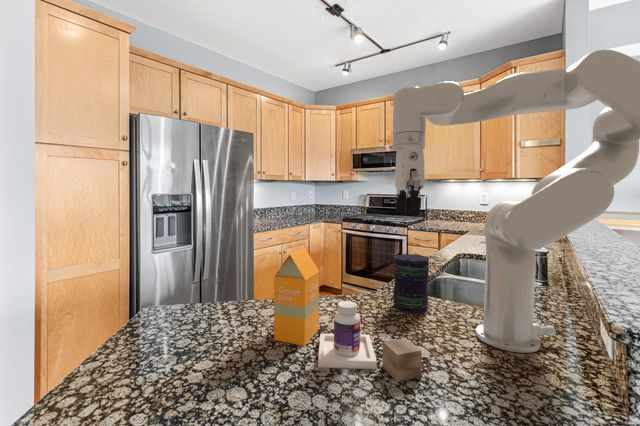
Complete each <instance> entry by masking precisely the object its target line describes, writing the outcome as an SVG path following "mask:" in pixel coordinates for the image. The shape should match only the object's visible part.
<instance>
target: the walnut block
mask: <svg viewBox="0 0 640 426" xmlns="http://www.w3.org/2000/svg"><path fill="white" fill-rule="evenodd" d="M422 351H423V350H422V349H421V348H419V347H418V346H416V345H415V344H414V343H413V342H412V341H410V340H409V339H408V338H406V337H405V338H399V339H397V338H396V339H392V340H384V341H382V368H383V369H384V370H385V371H386V372H387V374H389V375H390V376H391V377H392V379H393V380H395V382H397V383H399V382H403V381H408V380H413V379H417V378H421V377H422V354H423V353H422Z"/></svg>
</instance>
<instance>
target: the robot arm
mask: <svg viewBox="0 0 640 426" xmlns="http://www.w3.org/2000/svg"><path fill="white" fill-rule="evenodd" d="M596 101H599V102H600V103H602V104H603V105H605V106H606V107H605V108H603V110H601V112H600V113H599V114H598V115H597V116H596V118H595V120H594V122H593V126H592V140H591V144H590V146H589V147H588V148H587V149H586V151H584V152H583V153H582V154H580V155H578V156H577V157H576V158H574V159H573V160H571V161H570V162H568V163H567V164H565V165H563V166H561V167H560V168H558V169H557V170H555V171H553V172H552V173H550V174H548V175H546V176H544V177H543V178H541V179H540V180H539V181H538V182H537V183H536V184H535V185H534V187H533V188H532V192H531V195H529V197H527V198H525V199H524V200H522V201H519V200H517V201H516V200H507V201H502V202H500V203H497V204H496V205H494V206H492V207H491V209H490V210H488V212H487V215H486V216H485V221H484V239H485V272H484V295H483V296H484V299H483V301H484V303H483V323H482V324H479V325H477V326H476V328H475V335H476V337H477V338H478V339H479V340H481V341H482V342H484V343H485V344H486V345H489V346H492V347H494V348H497V349H499V350H503V351H508V352H512V353H521V354H531V353H534V352H538V351H539V350H540V349H541V345H542V344H541V343H542V342H541V340H540V339H539V338H538V337H541V336H542V335H543V336H556V334H557V333H556V328H555V327H554V326H551V325H544V326H543V325H542V324H541V323H540V322H534V307H535V306H534V305H535V304H534V303H535V288H536V287H535V285H536V282H535V281H536V274H537V273H536V270H537V263H536V261H537V260H536V251H535V250H539V249H542V248H545V247H547V246H549V245H551V244H553V243H555V242H557V241H558V240H561V239H562V238H564V237H566V236H568V235H569V234H571V233H573V232H575V231H576V230H578V229H581V228H582V227H583V226H585V225H587V224H589V223H591V222H593V220H595V219H597V218H598V217H600V216H601V215H603V214H604V213H605V212H606V211H607V210H608V208H609V207H610V206H611V204H612V203H613V200H614V199H615V198H614V197H615V185H617V184H618V183H619V182H622V180H624V179H625V178H627V177H628V176H629V175H630V174H631V173H632V172H633V171H634V169H635V167H636V165H637V163H638V162H637V161H638V158H639V153H640V61H639V60H637V59H635V58H634V57H632V56H630V55H628V54H625V53H624V52H623V53H622V52H621V51H616V50H612V49H597V50H594V51H592V52H590V53H588V54H586V55H585V56H583V57H582V58H581V59H579V60H578V61H577V62H575V63H574V64H572V65H570V66H567V67H566V66H565V67H559V68H551V69H545V70H537V71H536V70H535V71H527V72H520V73H519V72H518V73H514V74H511V75H509V76H506V77H504V78H502V79H500V80H497V82H494V83H492V84H491V85H489V86H486V87H484V88H481V89H479V90H478V89H477V90H475V91H473V92H468V93H465V91H464V89H463V87H462V85H460V84H459V83H458V82H454V81H450V80H449V81H441V82H437V83H433V84H429V85H424V86H420V87H418V86H407V87H404V88H403V87H402V88H401V89H398V90H397V91H396V92H394V95H393V101H392V102H393V104H392V106H393V107H392V109H393V111H392V146H391V147H392V150H393V151H396V154H395V170H394V171H395V174H394V175H395V176H394V180H395V181H394V182H395V183H394V184H395V185H394V186H395V189H396V195H395V196H396V197H395V213H396V214H405V216H420V213H421V190H423V189H424V187H425V183H426V182H425V155H424V154H425V153H424V149H426V123H427V122H426V121H428V122H429V123H431V124H432V125H434V126H439V127H440V126H441V127H443V126H445V127H446V126H455V125H464V124H465V125H467V124H472V123H474V124H475V123H480V122H483V121H489V120H495V119H500V118H502V119H503V118H504V117H505V118H506V117H510V116H515V115H516V116H517V115H527V114H535V113H544V112H545V113H547V112H556V111H557V112H558V111H566V110H567V111H568V110H575V109H578V108H579V109H580V108H583V107H585V106H588V105H591V104H592V103H594V102H596ZM426 119H427V120H426Z"/></svg>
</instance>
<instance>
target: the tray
mask: <svg viewBox="0 0 640 426" xmlns="http://www.w3.org/2000/svg"><path fill="white" fill-rule="evenodd" d="M319 335H320V336H319V345H318V347H319V348H318V360H317V368H326V369H327V368H328V369H358V370H362V369H363V370H377V365H378V364H377V362H378V361H377V358H376V354H375V351H374V350H375V349H374V346H373V343H372V340H371V336H370V334H360V350H359V352H358V353H357V354H356V355H353V356H343V355H339V354H338V353H336V352H335V350H334V333H320V334H319Z"/></svg>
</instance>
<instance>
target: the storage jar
mask: <svg viewBox="0 0 640 426" xmlns="http://www.w3.org/2000/svg"><path fill="white" fill-rule="evenodd" d="M393 258H394V260H393V261H394V262H393V275H394V276H393V277H394V285H393V286H394V287H393V293H392V298H393V299H392V300H393V304H392V307H393V309H394V310H396V311H398V312H400V313H404V314H408V315H420V314H422V315H423V314H425V313H427V312H428V303H429V290H428V279H429V276H430V275H429V274H430V273H429V272H430V267H429V265H430V263H429V261H430V258H429V257H428V256H425V255H419V254H413V253H412V254H410V253H408V254H407V253H404V254H403V253H401V254H396V255H394V257H393Z"/></svg>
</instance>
